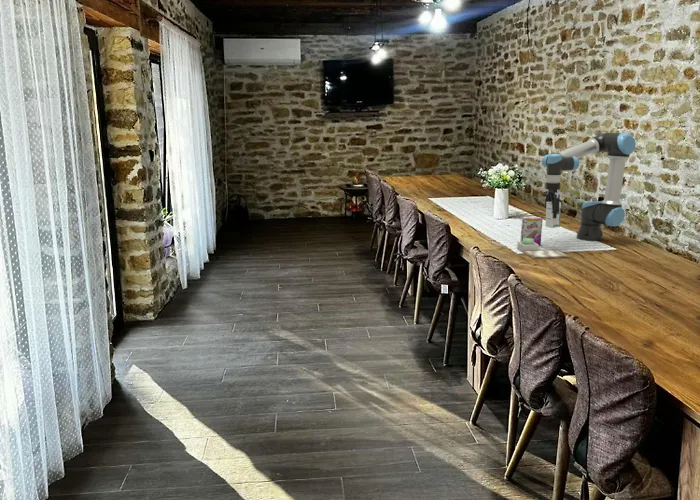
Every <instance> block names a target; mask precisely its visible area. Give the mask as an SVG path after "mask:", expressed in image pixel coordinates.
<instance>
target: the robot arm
mask: <svg viewBox="0 0 700 500" xmlns="http://www.w3.org/2000/svg"><path fill="white" fill-rule="evenodd" d="M636 144H637V143H636V139H635V138H634V136H633V135H632V134H629V133H625V132H623V133H622V132H605V133H601V134H599V135H596V136H593V137H590V138H588V140H587V141H585V142H583V143H580V144H577V145H575V146H572V147H569V148H567V149H563V150H562V151H559V152H557V153H551V154H546V155H543V157H542V158H541V165H542V167H544V168H546V176H545V179H546V180H545V181H546V183H545V184H546V185H545V190H547V191H545V200H544V209H546V204H547V202H550V201H552V211H553V212H551V213H552V216H551V224H556V220H557V212H559V202H560V197H561V195H560V194H559V193H558V190H560V189H561V180H562V179H561V178H562V172H563V171H565V172H566V171H574V170H575V171H576V170H577V169H578V168H579V166H580V159H581V158H583V157H586V156H588V155H591V154H593V155H595V154H598V153H599V154H600V153H607V157H608V158H609V162H608V163H609V165H608V172H607V178H606V183H605V184H606V185H605V191H604V197H603V200H600V201H599V200H597V201H595V200H594V201H584V202H583V203H582V207H581V217H580V226H579V228H578V231H577V232H576V238H577V239H579V240H584V241H591V242H593V241H602V240H603V239H604V235H603V234H604V233H603V229H602V225H604V226H608V227H617V226H619V225H620V224H622V223H623V221H624V220H625V218H626V217H625V216H626V212H625V209H624V208H623V203H622V202H621V195H622V189H623V182H624V175H625V168H626V162H627V160H628V159H629V158H630V155H631V154H633V153H634V151H635V150H636V146H637V145H636Z"/></svg>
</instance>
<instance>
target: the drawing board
mask: <svg viewBox="0 0 700 500" xmlns="http://www.w3.org/2000/svg"><path fill="white" fill-rule="evenodd" d="M522 253H523V254H525V255H526V256H527V257H528V258H531V259H532V260H545V259H547V260H548V259H551V260H553V258H555V259H571V258H572V257H571V256H570V255H568V254H567V253H564V252H563V251H561V250H560V249H559V250H558V249H557V250H556V249H555V250H554V249H552V250H550V249H549V250H538V251H523V252H522Z"/></svg>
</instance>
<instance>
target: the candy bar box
mask: <svg viewBox="0 0 700 500" xmlns="http://www.w3.org/2000/svg"><path fill="white" fill-rule="evenodd" d="M542 231H543V218H542V217H541V216H522V217H521V230H520V241H519V242H523V238H533V239H534V242H535V243H536V244H538V245H539V246H541V243H542V242H541V241H542Z"/></svg>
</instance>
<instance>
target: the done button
mask: <svg viewBox="0 0 700 500" xmlns="http://www.w3.org/2000/svg"><path fill="white" fill-rule="evenodd" d="M523 244H524V245H534V239H533V238H523Z"/></svg>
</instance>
